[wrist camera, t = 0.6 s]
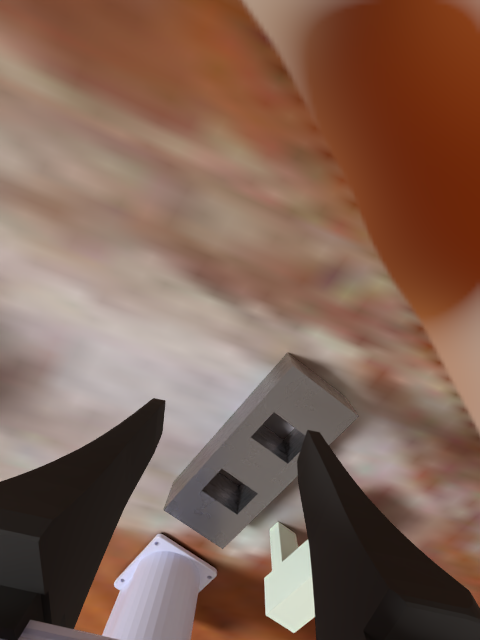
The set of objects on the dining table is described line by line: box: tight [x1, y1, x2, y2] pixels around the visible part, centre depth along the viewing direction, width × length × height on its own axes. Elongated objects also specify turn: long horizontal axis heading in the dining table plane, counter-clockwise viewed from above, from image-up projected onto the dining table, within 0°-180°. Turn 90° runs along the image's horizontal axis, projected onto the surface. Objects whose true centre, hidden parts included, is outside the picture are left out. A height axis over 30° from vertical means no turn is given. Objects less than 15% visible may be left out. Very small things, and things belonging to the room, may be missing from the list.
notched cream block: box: [264, 522, 315, 633], centre depth 23 cm, size 10×3×6 cm, turn 142°
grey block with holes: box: [164, 353, 358, 549], centre depth 23 cm, size 18×7×3 cm, turn 142°
